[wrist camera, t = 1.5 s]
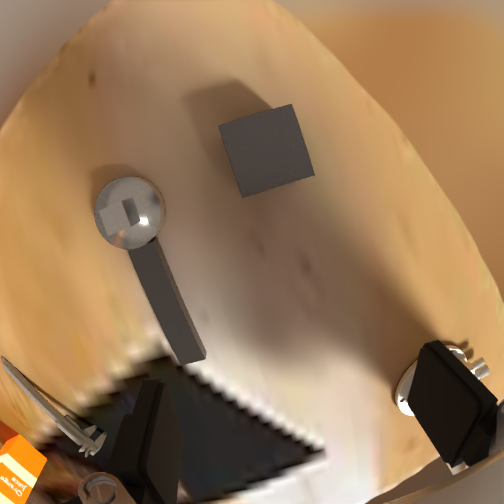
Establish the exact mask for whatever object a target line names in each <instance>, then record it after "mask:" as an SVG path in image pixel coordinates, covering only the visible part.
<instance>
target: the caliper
mask: <svg viewBox="0 0 504 504" xmlns="http://www.w3.org/2000/svg"><path fill="white" fill-rule="evenodd" d="M1 361H2V363H3V364H4V369H5V370H6V371H7V372H8V374H9V375H10V376H11V377H12V378H13V379H14V380H15V382H16V383H17V384H18V385H19V386H20V387H21V388H22V389H23V390H24V391H25V392H26V394H27V395H28V396H29V397H30V398H31V399H32V400H33V401H34V402H35V403H36V404H37V405H38V406H39V407H40V408H41V409H42V410H43V411H44V412H45V413H47V414H48V415H49V416H50V417H51V418H52V419H53V420H54V421H55V422H56V423H57V426H58V427H59V428H60V429H61V430H62V431H63V432H64V433H65V434H66V435H68V436H69V437H70V438H71V439H72V440H73V441H75V442H76V443H77V444H78V445H83V447H82V448H81V449H80V450H79V452H83V451H85V450H86V449H87V451H86V453H85V457H87V456H88V454H89V453H90V454H91V455H94V454H95V453H96V452H97V451H98V450H99V449H100V448H101V446H102V444H103V442H104V440H105V437H106V435H107V434H106V432H105V431H104V432H103V434H102V435H101V436H100V437H99V438H98V439H96V440H95V441H94V442H93V441H92V440H91V439H90V438H89V436H90V435H91V434H92V433H93V432H94V431H95V430H96V428H97V426H95V425H93V426H91V427H89V428H86V429H84V430H82V429H81V428H79V426H78V424H77V423H76V422H75V421H74V420H72V419H71V418H70V416H69V415H66V416H63V415H62V414H61V413H60V412H59V411H58V410H57V409H55V408H54V407H53V406H52V405H51V404H50V403H49V402H48V401H47V400H46V399H45V398H44V397H43V396H42V395H41V394H40V393H39V392H38V391H37V390H36V389H35V388H34V387H33V386H32V385H31V384H30V383H29V382H28V381H27V380H26V378H25V377H24V376H23V375H22V374H21V373H20V372H19V371H18V370H17V368H16V367H14V366H13V365H12V364H11V363H10V362H7V360H6V359H5V358H4V357H3V356H2V360H1Z"/></svg>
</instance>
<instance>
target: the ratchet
mask: <svg viewBox="0 0 504 504" xmlns="http://www.w3.org/2000/svg"><path fill="white" fill-rule="evenodd" d="M94 214H95V221H96V225H97V227H98V230H99V232H100V233H101V235H102V236H103V237H104V238H105V239H106V240H107V241H108V242H109V243H110V244H112V245H114V246H116V247H118V248H121V249H130V250H128V253H129V255H130V258H131V260H132V263H133V265H134V268H135V270H136V272H137V275H138V277H139V279H140V282H141V284H142V286H143V288H144V291H145V293H146V295H147V297H148V299H149V302H150V304H151V306H152V308H153V310H154V312H155V315H156V317H157V319H158V321H159V323H160V325H161V327H162V329H163V331H164V333H165V335H166V337H167V339H168V341H169V343H170V345H171V347H172V349H173V351H174V353H175V355H176V357H177V359H178V361H179V362H180V364H181V365H184V364H189V363H193V362H197V361H201V360H205V359H206V350H205V348H204V346H203V343H202V341H201V339H200V337H199V335H198V333H197V331H196V328H195V326H194V324H193V322H192V319H191V317H190V315H189V313H188V310H187V308H186V306H185V304H184V301H183V299H182V297H181V294H180V292H179V290H178V287H177V285H176V283H175V280H174V278H173V275H172V273H171V271H170V268H169V266H168V263H167V261H166V258H165V256H164V253H163V251H162V248H161V246H160V243H159V240H158V238H156V239H153V240H151V239H152V238H154V237H155V236H156V235H157V234H158V232H159V231H160V229H161V227H162V226H163V223H164V219H165V203H164V199H163V197H162V195H161V193H160V191H159V190H158V188H157V187H156V186H155V185H154V184H153V183H151V182H150V181H148V180H146V179H144V178H141V177H135V176H132V177H122V178H118V179H115V180H113V181H111V182H109V183H108V184H107V185H106V186H105V187H104V188H103V189H102V190H101V192H100V193H99V195H98V197H97V200H96V203H95V211H94ZM150 240H151V241H150Z"/></svg>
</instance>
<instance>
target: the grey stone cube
mask: <svg viewBox="0 0 504 504" xmlns="http://www.w3.org/2000/svg"><path fill="white" fill-rule="evenodd" d="M218 127H219V130H220V133H221V136H222V139H223V142H224V144H225V147H226V150H227V153H228V156H229V159H230V162H231V165H232V168H233V171H234V174H235V177H236V180H237V183H238V186H239V189H240V192H241V195H242V198H243V197H247V196H250V195H253V194H256V193H259V192H262V191H265V190H268V189H271V188H274V187H278V186H281V185H284V184H287V183H290V182H294V181H297V180H300V179H303V178H307V177H310V176H313V175H315V174H314V170H313V167H312V164H311V161H310V157H309V154H308V151H307V148H306V145H305V142H304V139H303V136H302V133H301V130H300V127H299V124H298V121H297V118H296V115H295V112H294V109H293V106H292V104H290V105H286V106H282V107H278V108H275V109H271V110H267V111H264V112H261V113H257V114H254V115H250V116H247V117H244V118H241V119H237V120H234V121H231V122H228V123H225V124H222V125H219V126H218Z"/></svg>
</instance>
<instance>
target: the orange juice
mask: <svg viewBox="0 0 504 504" xmlns="http://www.w3.org/2000/svg"><path fill="white" fill-rule="evenodd" d="M46 460H47V459H46V458H45V457H44V456H43V455H42V454H41V453H39V452H38V451H37V450H36V449H35V448H34V447H33V446H32V445H30V444H29V443H28V442H27V441H26V440H25V439H24V438H23V437H22V436H21V435H20V434H19V435H17V436H16V437H14V438H12V439H10V440H8V441H6V443H5V444H4V446H3V447H2V449H1V450H0V504H25V502H26V500H27V498H28V496H29V494H30V492H31V490H32V488H33V486H34V484H35V482H36V480H37V478H38V476H39V474H40V472H41V470H42V468H43V466H44V464H45V462H46Z"/></svg>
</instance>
